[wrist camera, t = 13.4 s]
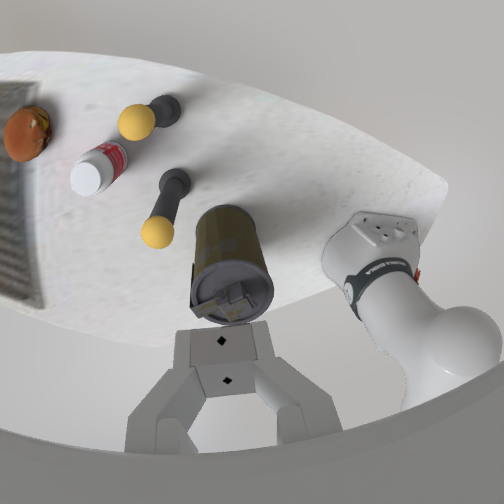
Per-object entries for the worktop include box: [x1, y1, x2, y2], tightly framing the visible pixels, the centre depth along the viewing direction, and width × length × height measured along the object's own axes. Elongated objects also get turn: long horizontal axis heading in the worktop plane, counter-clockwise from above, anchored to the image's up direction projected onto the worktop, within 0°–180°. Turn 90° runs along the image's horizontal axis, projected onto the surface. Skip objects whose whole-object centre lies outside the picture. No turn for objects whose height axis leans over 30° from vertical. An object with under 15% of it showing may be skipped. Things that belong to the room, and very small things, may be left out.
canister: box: [190, 205, 274, 325], centre depth 43 cm, size 11×10×20 cm
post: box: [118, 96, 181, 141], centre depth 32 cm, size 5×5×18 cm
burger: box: [4, 107, 51, 162], centre depth 35 cm, size 10×9×5 cm
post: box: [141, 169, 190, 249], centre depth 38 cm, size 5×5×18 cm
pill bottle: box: [70, 142, 127, 196], centre depth 37 cm, size 6×6×11 cm
